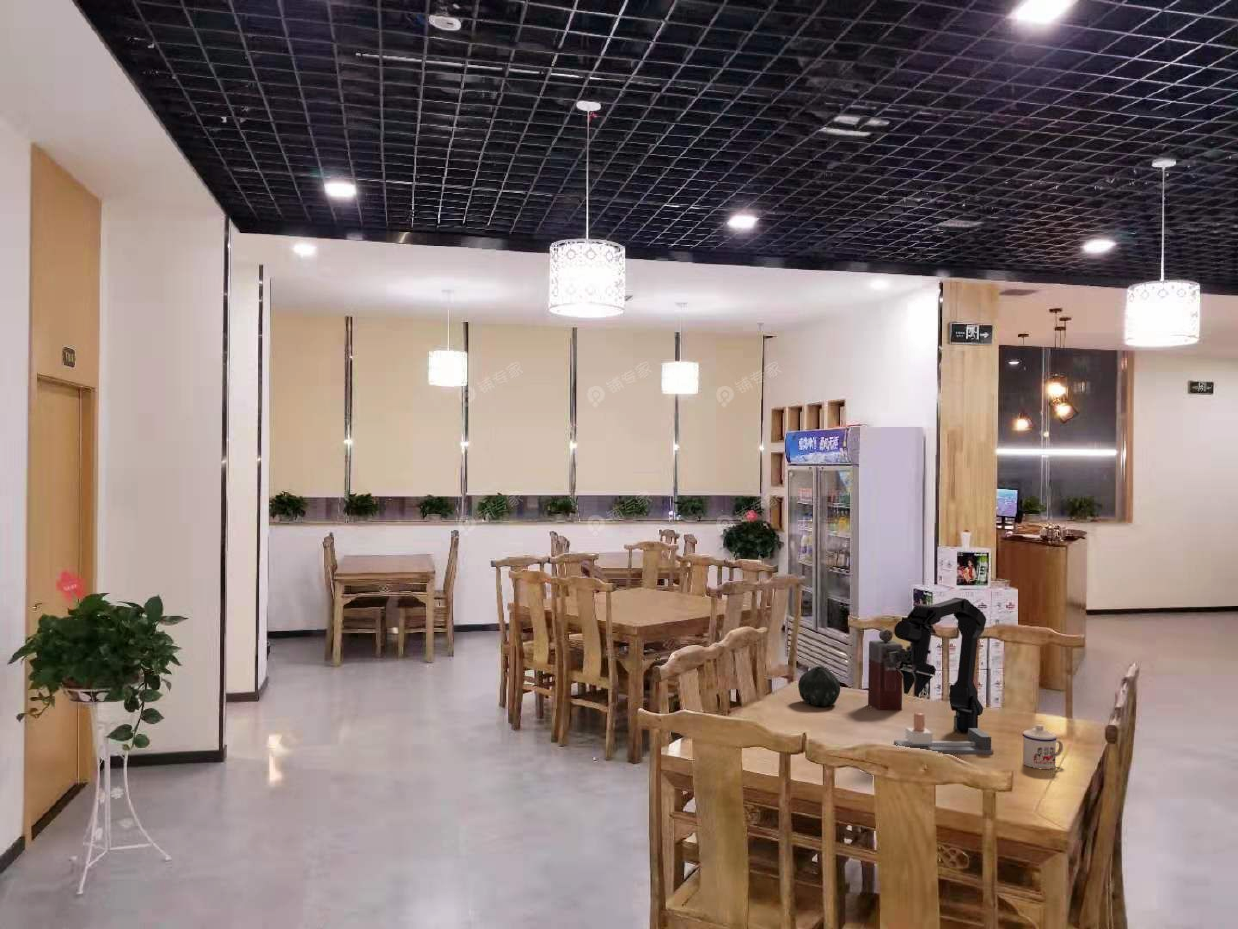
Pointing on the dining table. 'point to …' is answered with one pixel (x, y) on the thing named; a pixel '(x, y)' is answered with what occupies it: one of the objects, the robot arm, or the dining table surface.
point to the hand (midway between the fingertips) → (910, 695)
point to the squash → (819, 687)
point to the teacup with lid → (1040, 748)
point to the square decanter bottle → (884, 674)
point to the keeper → (919, 731)
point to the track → (957, 744)
